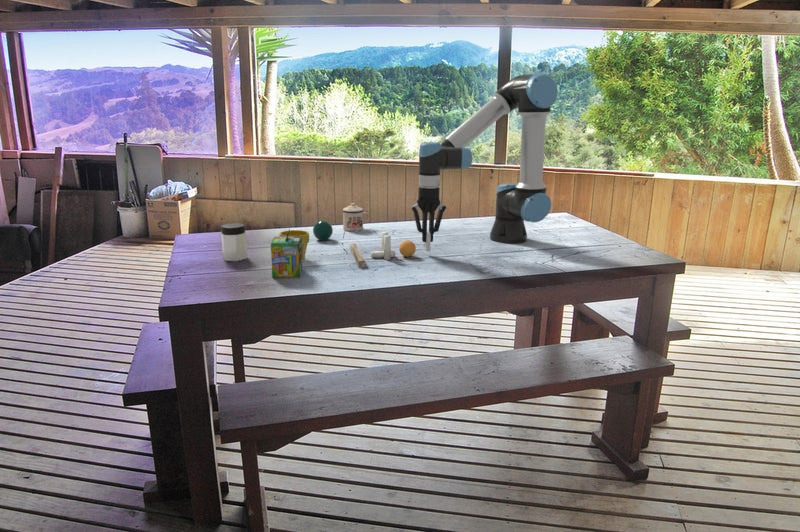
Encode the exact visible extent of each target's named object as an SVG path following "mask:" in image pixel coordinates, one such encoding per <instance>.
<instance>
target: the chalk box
mask: <svg viewBox="0 0 800 532" xmlns="http://www.w3.org/2000/svg"><path fill="white" fill-rule="evenodd" d="M290 230H291V229H290V228H289V229H288V230H287V231H288V233H287V237H279V236H274V237H273V239H272V241H271V243H270V253H271V254H270V255H271V258H270V259H271V278H273V279H274V278H301V275H302V272H303V261H302V237H288V236H289V231H290Z"/></svg>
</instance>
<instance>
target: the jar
mask: <svg viewBox="0 0 800 532" xmlns="http://www.w3.org/2000/svg"><path fill="white" fill-rule="evenodd" d="M220 231H221V232H220V237H221V239H220V240H221V251H222V258H223V260H224V261H225V262H240V261H243V259H244V260H247V259H248V248H247V247H248V246H247V244H248V243H247V233H246V226H245V224H244V223H239V222H234V223H233V222H231V223H224V224H222V225H220ZM239 260H240V261H239Z"/></svg>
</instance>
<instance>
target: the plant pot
mask: <svg viewBox="0 0 800 532" xmlns="http://www.w3.org/2000/svg"><path fill="white" fill-rule="evenodd" d="M287 233H288V230H283V231H280V232H279V233H278V234H279V235H278V237H287ZM288 237H302V260H303V261H304V260H305V258H306V252H307V247H308V244H309V243H310V232H308V231H306V230H301V229H290V231H289V236H288Z"/></svg>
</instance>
